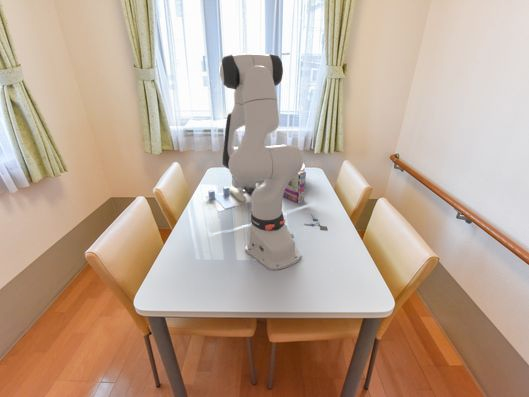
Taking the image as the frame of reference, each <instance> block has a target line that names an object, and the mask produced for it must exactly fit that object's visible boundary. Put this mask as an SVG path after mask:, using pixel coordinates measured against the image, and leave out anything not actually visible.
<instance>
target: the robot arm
mask: <svg viewBox="0 0 529 397" xmlns="http://www.w3.org/2000/svg"><path fill="white" fill-rule="evenodd" d="M218 70H219V77H220V79H221V82H222V84H223V86H225V87H226V88H227V89H231V90H234V92H233V97H234V99H233V100H234V105H233V109H232V110H231V112H228V114H227V116H226V124H225V131H224V132H225V133H224V142H223V148H222V152H221V163H222V165H223V166H224V167H225V168H226V169H227V170H229V173H230V175H231V178H232V179H231V185H232V186H233V187H234V188H235V189H237V188H239V189H240V190H241V194H245V190H243V187H244V186H248V185H252V184H256V183H259V184H258V185H257V184H256V188H255V189H254V191H253V193H252V196H251V200H252V202H251V210H250V222H251V224H250V226H249V229H248V232H247V244H246V245H245V247H244V251H245V252H246V253H247V254H248V255H250V256H251V257H252V258H254V259H255V260H257V261H258V262H260V264H262V265H264V267H266V268H267V269H269V271H270V270H271V271H276V270H282V269H285V268H288V267H291V266H292V265H295V263H298V262H299V261H300V259H301V258H302V253H301V251H300V250H299V249H298V248H297V247H296V243H295V239H294V238H295V234H294V233H293V232H290V231H289V229H288V225H286V224H285V223H286V219H284V217H285V216H284V212H283V210H282V207H283V199H284V196H283V194H284V191H285V189H286V187H287V185H288V183H289V182H290V180H291V179H292V178H293V177H294V176H295V175H296V174H297V173H298V172H300V170H301V169H302V166H303V163H304V161H305V160H304V159H305V158H304V154H303V151H302V150H301V149H300V148H299V146H297V145H292V144H291V145H290V144H276V145H275V144H274V145H266V144H265V143H266V139H267V137H269V136H270V135H272V134H273V133H274V132H275V131H276V130H277V129H278V128H279V125H280V117H279V106H278V97H277V89H276V86H278V85H279V84H280V83H281V82H282V80H283V75H284V68H283V61H282V59H281V58H280V56H279V55H277V54H273V53H268V54H267V53H266V54H264V53H249V52H248V53H241V54H234V55H233V54H228V55H225V56H223V57H222V59H221V60H220V64H219V69H218ZM242 127H244V134H243V135H242V137H241V142H240V144H239V145H238V146H234V138H235V132H236V131H237V130H238V129H240V128H242Z"/></svg>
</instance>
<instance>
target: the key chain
mask: <svg viewBox="0 0 529 397" xmlns="http://www.w3.org/2000/svg"><path fill="white" fill-rule="evenodd" d="M310 215H311V217H312V221H313V222H315V223H304V224H303V226H304V225H305V226H310V227H314V226H317V227H319V230H320V231H325V232H327V231H328V230H329V229H328V228H327V227H328V226H327V225H326V226H324V225H321V224H320V222H319V219H317V218H315V217H314V215H313V214H310Z"/></svg>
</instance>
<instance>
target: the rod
mask: <svg viewBox="0 0 529 397" xmlns="http://www.w3.org/2000/svg"><path fill="white" fill-rule="evenodd" d="M228 187H229V191H230V192H231V193H232V194H233V195H234V196H235V197H236V198H237V199H238V200H240V201H241V202H245V201H246V197H245V196H244V195H242V194H241V193H240V192H239V191H238V190H236V189H237V188H234V187H233V186H228Z"/></svg>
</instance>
